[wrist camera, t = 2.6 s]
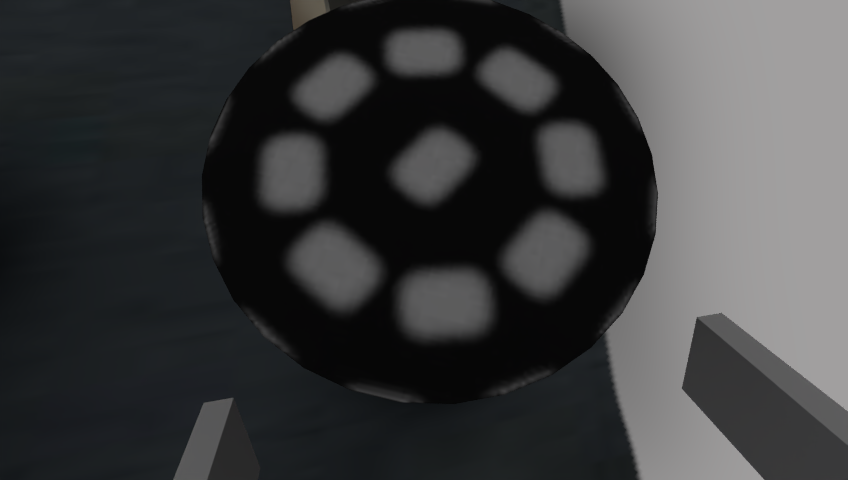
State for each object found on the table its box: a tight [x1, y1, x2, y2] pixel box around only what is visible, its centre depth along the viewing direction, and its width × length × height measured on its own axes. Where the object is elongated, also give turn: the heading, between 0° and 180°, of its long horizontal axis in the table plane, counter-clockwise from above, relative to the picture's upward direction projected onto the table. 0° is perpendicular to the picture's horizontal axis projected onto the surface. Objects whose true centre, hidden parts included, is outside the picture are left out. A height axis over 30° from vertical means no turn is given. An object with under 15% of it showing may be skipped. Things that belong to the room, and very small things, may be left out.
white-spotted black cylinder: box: [202, 0, 658, 404], centre depth 18 cm, size 8×8×20 cm
